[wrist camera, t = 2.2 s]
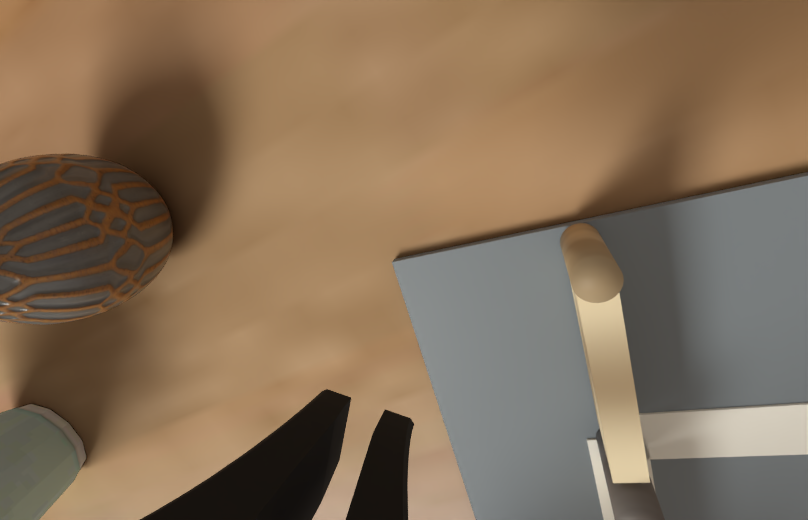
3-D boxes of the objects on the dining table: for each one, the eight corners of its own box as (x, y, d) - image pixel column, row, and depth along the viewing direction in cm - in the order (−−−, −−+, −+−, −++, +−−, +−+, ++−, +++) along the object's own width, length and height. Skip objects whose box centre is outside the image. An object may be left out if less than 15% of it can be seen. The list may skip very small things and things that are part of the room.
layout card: (946, 569, 17) (958, 582, 17) (489, 552, 23) (488, 561, 23) (993, 132, 12) (1010, 134, 12) (394, 259, 18) (391, 263, 18)
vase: (138, 117, 19) (-131, 133, 11) (223, 247, 21) (38, 343, 13) (58, 185, 22) (-205, 237, 14) (139, 296, 23) (-58, 400, 15)
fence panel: (631, 419, 18) (657, 494, 14) (595, 421, 18) (613, 495, 15) (597, 219, 15) (619, 254, 12) (556, 227, 16) (567, 263, 12)
